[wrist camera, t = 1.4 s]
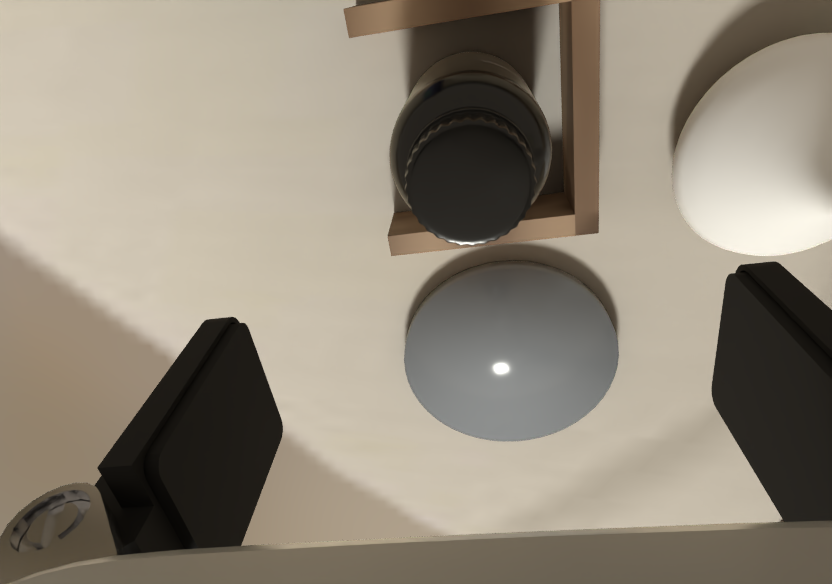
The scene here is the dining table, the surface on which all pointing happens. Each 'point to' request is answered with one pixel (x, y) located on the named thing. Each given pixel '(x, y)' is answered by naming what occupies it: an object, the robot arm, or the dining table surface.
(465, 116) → the supplement bottle
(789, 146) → the flower in vase
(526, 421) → the plate
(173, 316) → the dining table surface
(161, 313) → the dining table surface
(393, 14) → the brown wooden arch piece
